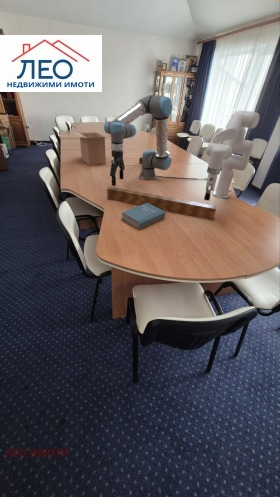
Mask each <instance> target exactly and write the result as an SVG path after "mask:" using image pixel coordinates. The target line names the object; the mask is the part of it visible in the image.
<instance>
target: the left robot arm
mask: <svg viewBox="0 0 280 497" xmlns="http://www.w3.org/2000/svg"><path fill="white" fill-rule="evenodd" d="M173 107H174V106H173V100H172V99H171V97H169V96H165V95H155V94H149V95H146V96H143V97H142V98H140V99H138V100H137V101H136V102H135V103H134V105H133V106H131V107H130V108H129V109H127V110H126V111H124V112H122V114H120V115H119V116H117V117H116V118H115V119H113V120H112V121H111V120H109V121H108V120H107V121H105V122H104V123H103V124H104V125H103V130H104V132H105V133H107V134H109V135H111V137H110V144H111V145H110V149H111V151H110V152H111V157H112V158H113V159H112V160H111V164H110V172H109V177H111V187H117V177H116V174H117V170H118V171H119V172H118V173H119V180H124V171H126V170H125V169H126V166H125V163H124V161H125V160H124V147H125V145H124V139H125V140H126V139H131V138H133V137H135V136H136V134H137V128H136V126H135V125H134V124H133V122H134V121H135V120H137V119H138V118H140V117H142V116H144V115H147V114H150V115H153V116H152V117H153V118H152V119H153V120H154V121H155V139H156V140H155V141H156V143H155V145H156V150H153V149H151V150H145V151H143V152H142V157H143V158H142V157H141V158H142V163H141V169H140V172H139V178H140V179H142V180H146V181H154V180H156V178H162V179H181V180H197V178H193V177H192V178H190V177H175V176H163V175H162V176H161V175H157V174H156V169H157V170H160V171H167V170H168V169H169V168H170V167H171V165H172V160H173V158H172V156H170V152H169V151H168V120H169V119H170V116H172V113H173V112H172V111H173ZM118 168H119V169H118Z"/></svg>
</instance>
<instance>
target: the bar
mask: <svg viewBox="0 0 280 497" xmlns="http://www.w3.org/2000/svg"><path fill="white" fill-rule="evenodd" d="M106 198H107V200H110V201H115V202H121V203H125V204H130V205H136V206H140V205H143V204H145V203H149V204H151V205H153V206H155V207H157V208H159V209H161V210H162V211H166V212H170V213H174V214H181V215H186V216H190V217H195V218H201V219H206V220H210V221H214V219H215V215H216V211H217V205H212V204H208V203H201V202H197V201H192V200H191V201H190V200H185V199H179V198H174V197H168V196H165V195H158V194H153V193H147V192H143V191H137V190H132V189H126V188H121V187H117V186H112V185H111V186H108V187H107V188H106Z"/></svg>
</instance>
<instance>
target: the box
mask: <svg viewBox="0 0 280 497" xmlns="http://www.w3.org/2000/svg"><path fill="white" fill-rule="evenodd" d="M70 133H71V134H72V135H74V136H75V137H77V138H79V144H80V153H81V160H83V162H85V163H86V165H87V166H95V165H97V166H98V165H106V163H107V162H106V158H107V157H106V138H111V135H110V134H108V133H106V132H105V131H98V132H96V131H95V130H92V129H91V130H77V132H76V131H70Z"/></svg>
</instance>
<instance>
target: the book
mask: <svg viewBox="0 0 280 497" xmlns="http://www.w3.org/2000/svg"><path fill="white" fill-rule="evenodd" d="M121 215H122V216H121V220H122V222H125V223H126V224H128V225H129V226H132V227H134V228H135V229H137V230H141V229H143V228H145V227H147V226H149V225H151V224H153V223H156V222H158V221H160V220H162V219H164V218H165V217H166V212H165V210H161V209H159V208H157V207H155V206H153V205H151V204H149V203H145V204H143V205H136V206H134V207H132V208H129V209H127V210H124V211H122V212H121Z"/></svg>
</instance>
